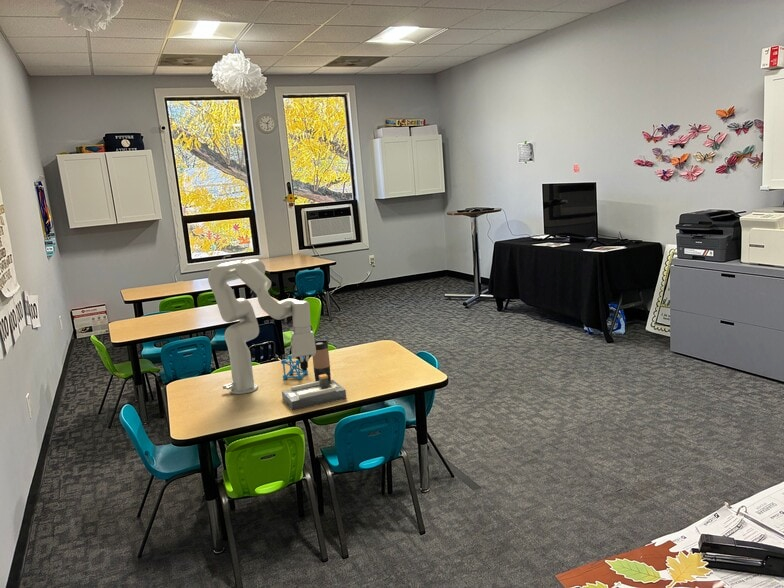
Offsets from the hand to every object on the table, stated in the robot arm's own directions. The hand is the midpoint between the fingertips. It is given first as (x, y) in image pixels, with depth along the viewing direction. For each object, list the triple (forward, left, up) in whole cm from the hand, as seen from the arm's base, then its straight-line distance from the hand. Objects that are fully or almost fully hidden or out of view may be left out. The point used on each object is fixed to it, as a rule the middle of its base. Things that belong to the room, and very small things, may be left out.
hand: (304, 369), depth 259 cm
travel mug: (+12, +13, -13) cm, 21 cm away
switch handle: (+7, -4, -8) cm, 12 cm away
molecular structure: (+4, +32, -13) cm, 34 cm away
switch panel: (+2, -4, -13) cm, 13 cm away
